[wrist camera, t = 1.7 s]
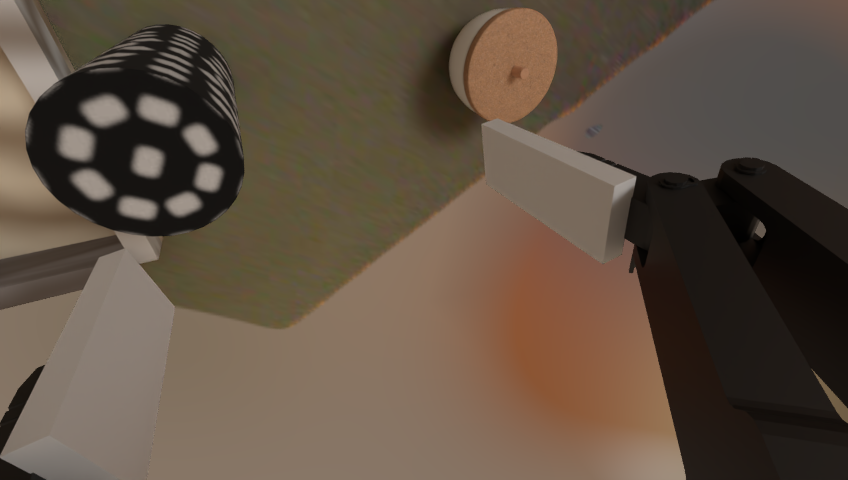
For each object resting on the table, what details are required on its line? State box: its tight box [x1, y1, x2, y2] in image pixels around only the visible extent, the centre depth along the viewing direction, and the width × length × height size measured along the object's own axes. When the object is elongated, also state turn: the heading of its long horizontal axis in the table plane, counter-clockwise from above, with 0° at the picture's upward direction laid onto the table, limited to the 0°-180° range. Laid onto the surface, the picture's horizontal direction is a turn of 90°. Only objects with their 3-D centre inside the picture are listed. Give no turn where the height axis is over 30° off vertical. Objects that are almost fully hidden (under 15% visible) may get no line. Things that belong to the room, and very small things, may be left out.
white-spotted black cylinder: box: [25, 25, 244, 237], centre depth 25 cm, size 8×8×20 cm
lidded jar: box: [449, 7, 557, 123], centre depth 39 cm, size 11×11×9 cm
